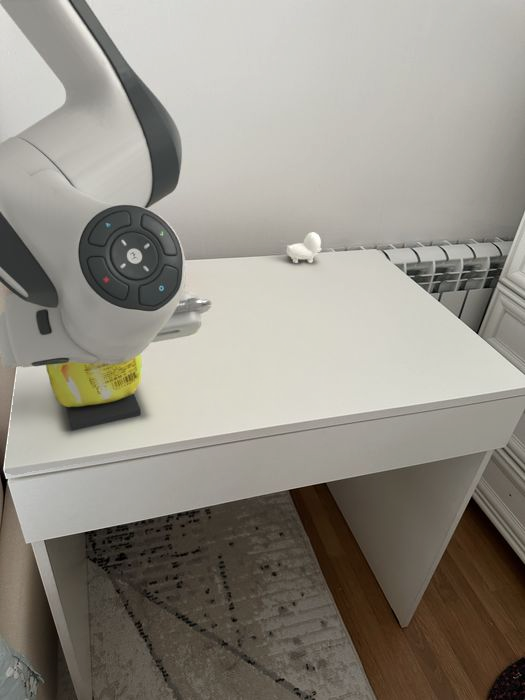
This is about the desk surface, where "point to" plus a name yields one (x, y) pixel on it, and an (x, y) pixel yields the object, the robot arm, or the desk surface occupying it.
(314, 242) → the toy creature
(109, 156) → the robot arm
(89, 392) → the bottle
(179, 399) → the desk surface
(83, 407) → the mat
